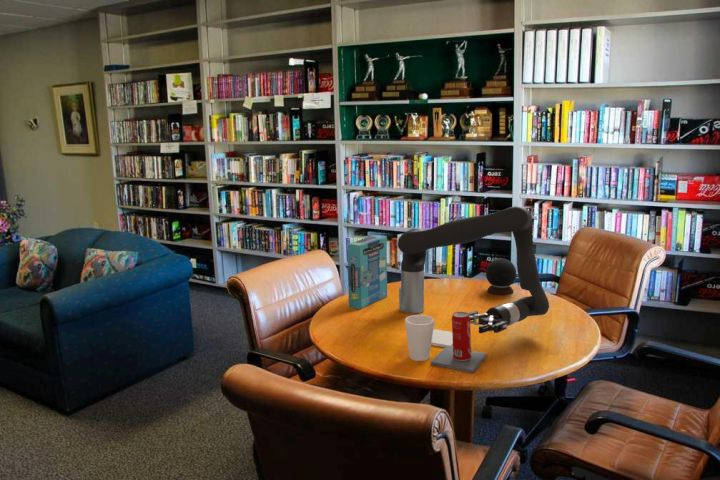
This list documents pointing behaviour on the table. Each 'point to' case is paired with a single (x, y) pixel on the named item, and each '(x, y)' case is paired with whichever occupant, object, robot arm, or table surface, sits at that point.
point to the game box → (367, 271)
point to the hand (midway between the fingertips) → (469, 326)
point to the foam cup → (419, 336)
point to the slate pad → (448, 361)
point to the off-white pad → (442, 338)
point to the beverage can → (461, 336)
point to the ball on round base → (500, 276)
